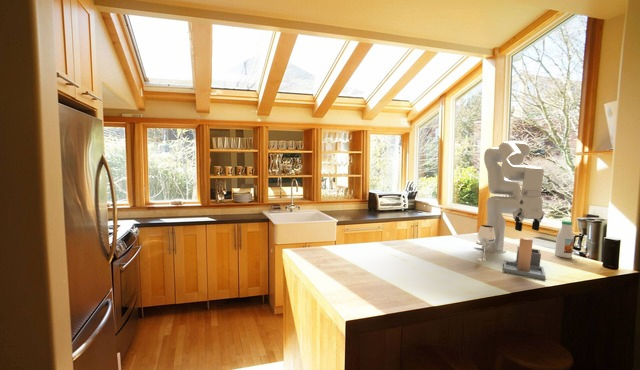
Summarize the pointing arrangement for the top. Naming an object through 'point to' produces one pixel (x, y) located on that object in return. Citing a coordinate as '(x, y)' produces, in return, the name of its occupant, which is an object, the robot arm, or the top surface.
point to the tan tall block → (524, 254)
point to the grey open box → (532, 257)
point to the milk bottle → (565, 240)
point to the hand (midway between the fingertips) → (526, 230)
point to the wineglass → (486, 237)
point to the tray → (534, 271)
